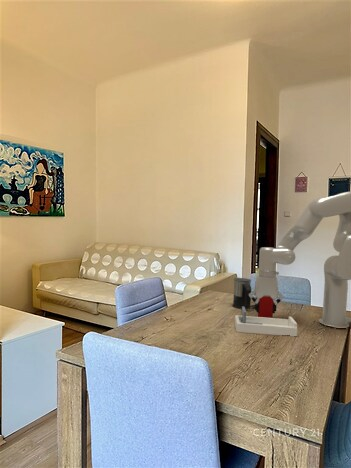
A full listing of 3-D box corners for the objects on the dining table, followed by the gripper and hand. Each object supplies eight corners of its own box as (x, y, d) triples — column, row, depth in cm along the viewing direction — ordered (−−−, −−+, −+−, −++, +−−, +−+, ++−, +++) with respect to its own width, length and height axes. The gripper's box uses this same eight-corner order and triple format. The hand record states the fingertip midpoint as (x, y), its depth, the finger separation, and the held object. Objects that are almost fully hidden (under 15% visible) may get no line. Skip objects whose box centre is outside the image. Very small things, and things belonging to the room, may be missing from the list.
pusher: (261, 323, 141) (261, 307, 141) (264, 329, 133) (264, 313, 132) (241, 321, 142) (242, 306, 142) (243, 328, 134) (243, 312, 133)
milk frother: (228, 305, 174) (230, 278, 174) (251, 302, 182) (252, 276, 181) (246, 312, 162) (247, 283, 161) (269, 309, 169) (271, 281, 168)
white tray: (290, 327, 141) (291, 316, 141) (296, 336, 130) (297, 324, 130) (234, 323, 144) (235, 311, 144) (236, 331, 133) (237, 319, 133)
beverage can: (271, 318, 153) (272, 293, 153) (273, 322, 147) (275, 296, 146) (256, 317, 154) (257, 292, 153) (258, 321, 147) (259, 295, 147)
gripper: (284, 273, 152) (282, 311, 153) (247, 271, 154) (245, 308, 155) (288, 276, 144) (286, 315, 145) (248, 274, 146) (247, 313, 147)
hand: (265, 311), depth 150 cm, fingers closed on beverage can, 6 cm apart
